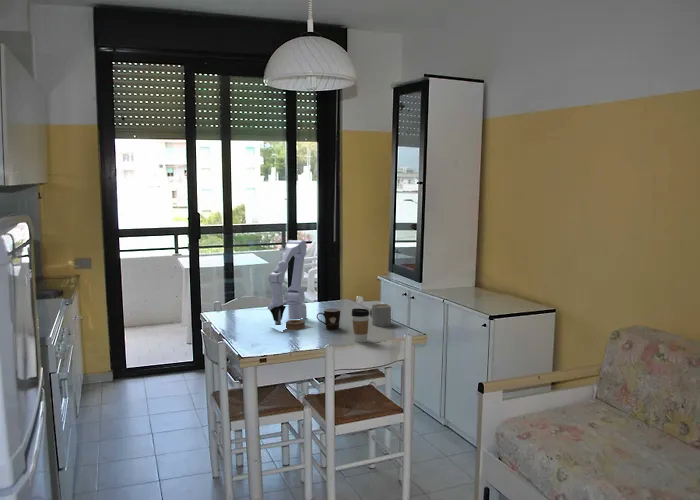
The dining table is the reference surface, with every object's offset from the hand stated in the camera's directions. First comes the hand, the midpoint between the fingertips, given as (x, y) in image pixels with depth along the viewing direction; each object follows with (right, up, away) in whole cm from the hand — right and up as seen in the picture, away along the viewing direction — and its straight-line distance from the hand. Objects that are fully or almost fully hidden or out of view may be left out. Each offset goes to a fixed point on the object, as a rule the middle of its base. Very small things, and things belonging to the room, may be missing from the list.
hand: (277, 320), depth 305 cm
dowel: (0, -2, 0) cm, 2 cm away
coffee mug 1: (+28, -4, -9) cm, 29 cm away
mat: (+6, -3, -4) cm, 8 cm away
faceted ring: (+10, -3, -5) cm, 12 cm away
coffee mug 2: (+54, -2, +1) cm, 54 cm away
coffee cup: (+43, -6, -33) cm, 55 cm away
